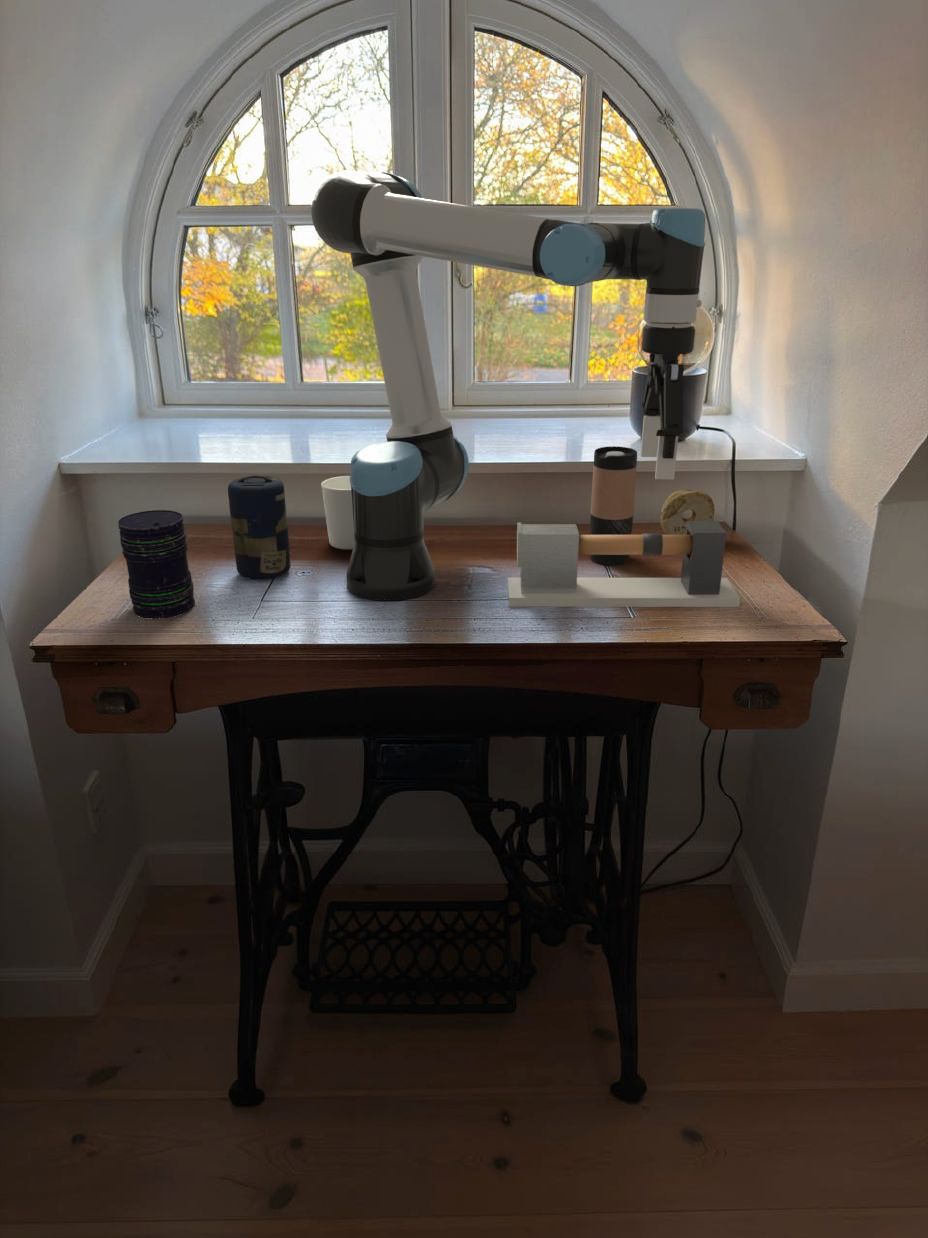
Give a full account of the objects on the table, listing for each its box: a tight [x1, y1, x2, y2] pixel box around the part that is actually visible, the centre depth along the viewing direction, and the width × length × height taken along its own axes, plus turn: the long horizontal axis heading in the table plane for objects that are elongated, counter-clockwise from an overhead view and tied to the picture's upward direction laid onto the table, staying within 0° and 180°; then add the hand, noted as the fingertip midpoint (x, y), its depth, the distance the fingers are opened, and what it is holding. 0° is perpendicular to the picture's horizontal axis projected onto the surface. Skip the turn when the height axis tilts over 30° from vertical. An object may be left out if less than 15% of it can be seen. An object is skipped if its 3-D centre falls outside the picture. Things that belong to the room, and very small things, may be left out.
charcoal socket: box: [680, 520, 727, 595], centre depth 144 cm, size 5×6×10 cm
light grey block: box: [516, 522, 580, 594], centre depth 145 cm, size 10×5×10 cm, turn 89°
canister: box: [227, 474, 292, 581], centre depth 154 cm, size 10×10×18 cm
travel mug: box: [589, 445, 638, 566], centre depth 160 cm, size 8×8×20 cm
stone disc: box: [659, 489, 716, 535], centre depth 172 cm, size 10×4×10 cm, turn 97°
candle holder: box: [320, 475, 355, 550], centre depth 171 cm, size 10×10×12 cm
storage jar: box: [117, 509, 196, 620], centre depth 142 cm, size 10×10×15 cm
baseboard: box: [507, 577, 741, 608], centre depth 147 cm, size 37×9×2 cm, turn 89°
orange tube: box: [578, 532, 692, 557], centre depth 144 cm, size 22×4×4 cm, turn 89°
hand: (656, 467), depth 139 cm, fingers open, 13 cm apart
